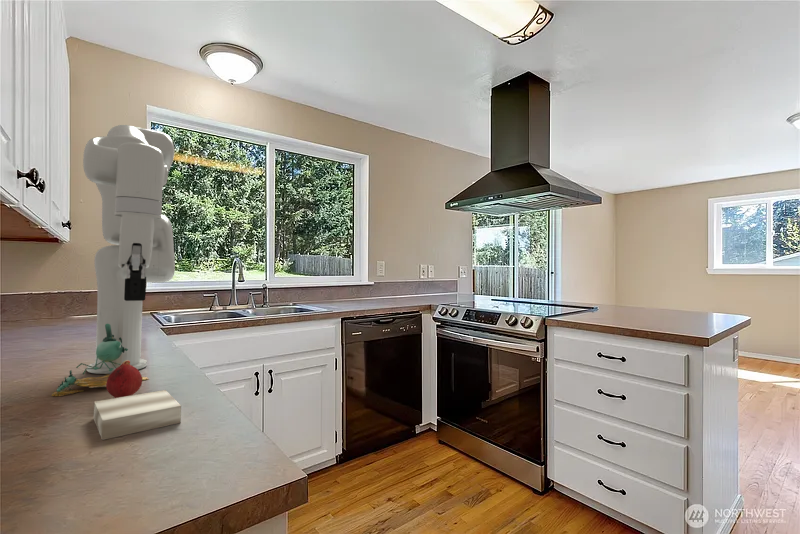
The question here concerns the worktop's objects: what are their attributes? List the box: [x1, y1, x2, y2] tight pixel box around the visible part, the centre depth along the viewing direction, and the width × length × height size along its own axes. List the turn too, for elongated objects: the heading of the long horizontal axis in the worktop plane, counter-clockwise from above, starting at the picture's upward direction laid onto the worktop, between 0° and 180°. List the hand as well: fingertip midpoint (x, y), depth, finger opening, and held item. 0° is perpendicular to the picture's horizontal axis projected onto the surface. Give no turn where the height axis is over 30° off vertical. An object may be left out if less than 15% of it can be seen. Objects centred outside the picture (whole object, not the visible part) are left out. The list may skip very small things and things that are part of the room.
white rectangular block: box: [93, 389, 182, 441], centre depth 69 cm, size 11×11×3 cm
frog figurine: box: [51, 323, 149, 397], centre depth 88 cm, size 10×18×15 cm, turn 137°
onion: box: [105, 360, 143, 398], centre depth 78 cm, size 6×6×8 cm
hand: (135, 298), depth 76 cm, fingers open, 9 cm apart
